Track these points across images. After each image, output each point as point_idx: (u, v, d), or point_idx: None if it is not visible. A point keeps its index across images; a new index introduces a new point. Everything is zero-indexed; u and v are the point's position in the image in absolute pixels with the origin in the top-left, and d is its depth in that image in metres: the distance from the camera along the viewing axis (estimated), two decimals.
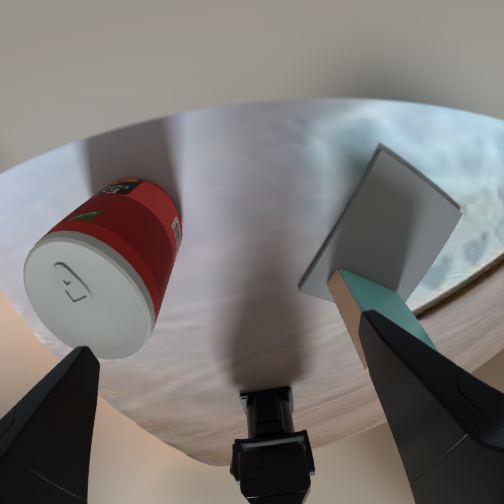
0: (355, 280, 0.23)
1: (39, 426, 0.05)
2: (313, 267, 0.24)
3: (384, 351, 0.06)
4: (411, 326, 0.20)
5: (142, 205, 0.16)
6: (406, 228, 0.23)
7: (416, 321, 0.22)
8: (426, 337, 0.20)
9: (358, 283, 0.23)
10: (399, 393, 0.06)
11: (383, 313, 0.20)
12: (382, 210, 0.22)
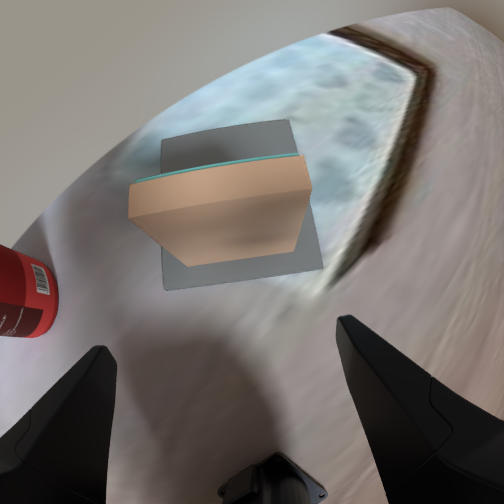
0: None
1: (57, 430, 0.05)
2: (162, 258, 0.22)
3: (357, 358, 0.06)
4: None
5: (8, 248, 0.18)
6: None
7: None
8: None
9: None
10: (372, 402, 0.06)
11: None
12: None
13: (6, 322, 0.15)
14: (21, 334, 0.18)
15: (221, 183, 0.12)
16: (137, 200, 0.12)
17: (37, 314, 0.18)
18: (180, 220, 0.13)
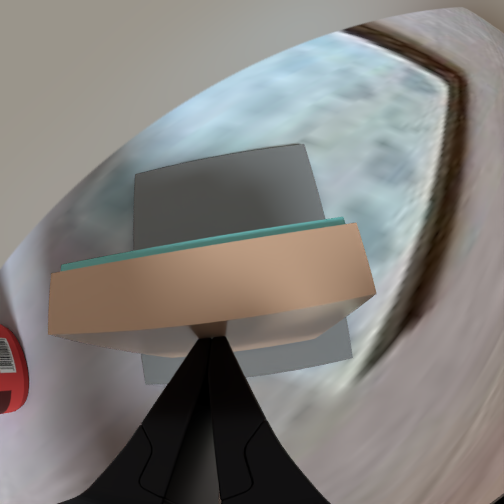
0: None
1: (184, 445, 0.05)
2: None
3: None
4: None
5: None
6: (227, 216, 0.17)
7: None
8: None
9: None
10: None
11: None
12: (174, 222, 0.17)
13: None
14: None
15: (197, 285, 0.06)
16: (60, 304, 0.06)
17: (4, 396, 0.12)
18: (134, 338, 0.07)
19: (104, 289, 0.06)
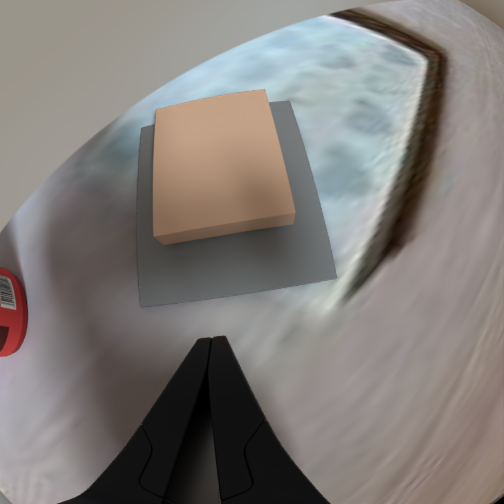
0: None
1: (184, 446, 0.05)
2: None
3: None
4: None
5: None
6: None
7: None
8: None
9: None
10: None
11: None
12: None
13: None
14: None
15: None
16: None
17: (2, 331, 0.14)
18: (183, 114, 0.18)
19: None
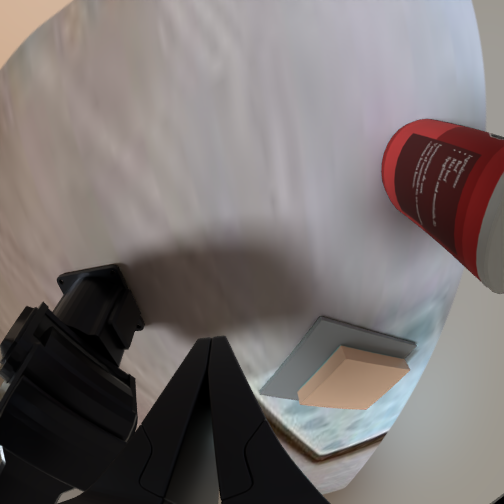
0: None
1: (184, 446, 0.05)
2: (343, 325, 0.24)
3: None
4: None
5: None
6: None
7: None
8: None
9: None
10: None
11: None
12: None
13: (429, 213, 0.13)
14: (404, 170, 0.15)
15: None
16: None
17: (404, 208, 0.16)
18: (391, 380, 0.27)
19: None
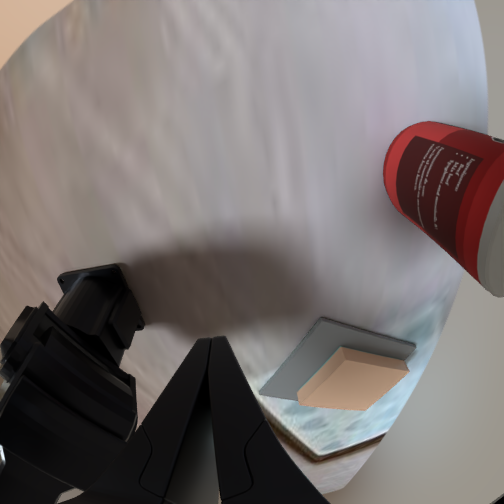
0: None
1: (184, 445, 0.05)
2: (343, 326, 0.24)
3: None
4: None
5: None
6: None
7: None
8: None
9: None
10: None
11: None
12: None
13: (431, 216, 0.13)
14: (406, 173, 0.15)
15: None
16: None
17: (405, 211, 0.16)
18: (390, 382, 0.27)
19: None
